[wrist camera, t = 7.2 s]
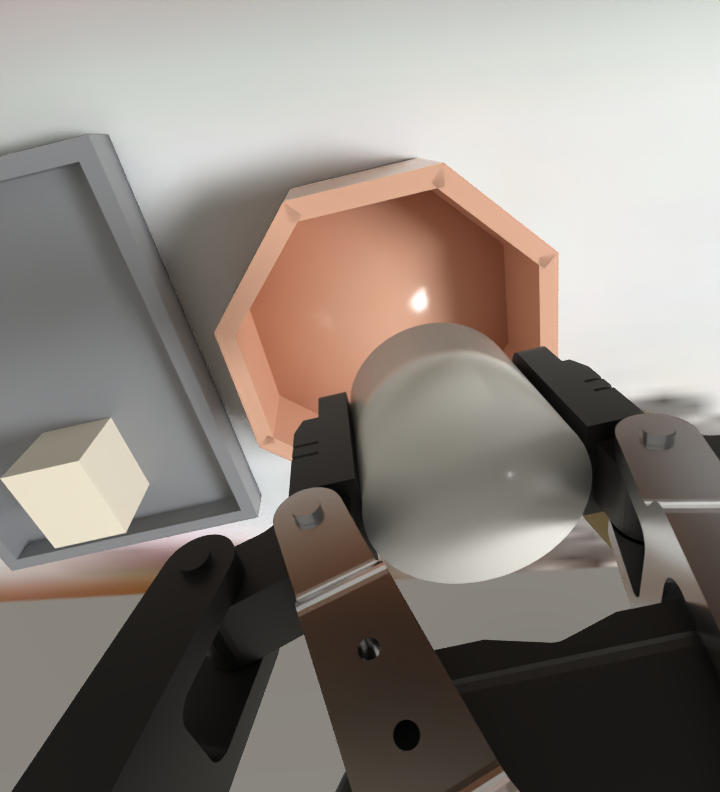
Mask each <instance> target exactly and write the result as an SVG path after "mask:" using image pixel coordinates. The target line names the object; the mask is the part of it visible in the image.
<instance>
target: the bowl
mask: <svg viewBox="0 0 720 792" xmlns="http://www.w3.org/2000/svg"><path fill="white" fill-rule="evenodd" d="M429 323H454V324H459V325H464V326H467V327H470V328H472V329H475V330H477V331H479V332H481V333H483V334H485V335H486V336H487V337H489V338H490V339H491V340H493V341H494V342H495V343H496V344H497V346H498V347H499V348H500V349H501V350H502V351H503V352H504V353H505V354H506V355H507V357H508V358H509V359H510V360H511V361H512V357H513V354H514V353H516V352H520V351H524V350H529V349H533V348H537V347H542V346H545V347H546V348H548V349H549V350H550V351H551V352H552V353H553V354H554V355H555V356H557V357H558V252H557V251H556V250H554V249H553V248H552V247H551V246H549V245H548V244H547V243H546V242H544V241H543V240H542V239H540V238H539V237H538V236H537V235H535V234H534V233H533V232H531V231H530V230H529V229H528V228H526V227H525V226H524V225H523V224H521V223H520V222H519V221H517V220H516V219H515V218H514V217H512V216H511V215H510V214H508V213H507V212H506V211H505V210H503V209H502V208H501V207H500V206H498V205H497V204H496V203H494V202H493V201H492V200H491V199H489V198H488V197H487V196H485V195H484V194H483V193H482V192H480V191H479V190H478V189H477V188H475V187H474V186H473V185H471V184H470V183H469V182H468V181H466V180H465V179H464V178H463V177H461V176H460V175H459V174H457V173H456V172H455V171H454V170H452V169H451V168H450V167H448V166H447V165H446V164H445V163H441V162H436V161H431V160H426V159H420V158H414V159H410V160H406V161H402V162H398V163H394V164H390V165H385V166H381V167H377V168H373V169H369V170H365V171H361V172H357V173H352V174H348V175H344V176H340V177H336V178H332V179H328V180H323V181H319V182H315V183H311V184H307V185H303V186H299V187H295V188H291V189H290V190H289V192H288V193H287V195H286V197H285V199H284V201H283V203H282V204H281V206H280V208H279V210H278V212H277V214H276V216H275V218H274V220H273V222H272V223H271V225H270V227H269V229H268V231H267V233H266V235H265V237H264V239H263V240H262V242H261V244H260V246H259V248H258V250H257V252H256V254H255V256H254V258H253V259H252V261H251V263H250V265H249V267H248V269H247V271H246V273H245V275H244V276H243V278H242V280H241V282H240V284H239V286H238V288H237V290H236V292H235V294H234V295H233V297H232V299H231V301H230V303H229V305H228V307H227V309H226V311H225V312H224V314H223V316H222V318H221V320H220V322H219V324H218V326H217V328H216V330H215V331H214V335H215V337H216V340H217V342H218V345H219V347H220V350H221V352H222V355H223V357H224V360H225V362H226V365H227V367H228V370H229V372H230V375H231V377H232V380H233V382H234V385H235V387H236V390H237V392H238V395H239V397H240V400H241V402H242V405H243V407H244V410H245V412H246V415H247V417H248V420H249V422H250V425H251V427H252V430H253V432H254V435H255V437H256V440H257V442H258V445H259V446H260V447H261V448H263V449H265V450H267V451H270V452H272V453H274V454H276V455H279V456H281V457H283V458H285V459H288V460H290V461H292V460H293V459H292V452H293V440H294V433H295V432H296V430H297V429H298V427H299V426H300V424H301V423H302V421H304V420H308V419H313V418H317V417H318V399H319V398H320V397H325V396H329V395H333V394H338V393H342V392H346V393H347V396H348V400H349V403H350V393H351V389H352V385H353V381H354V379H355V377H356V374H357V372H358V370H359V369H360V367H361V365H362V364H363V362H364V361H365V360H366V358H367V357H368V356H369V355H370V354H371V353H372V352H373V351H374V350H375V349H376V348H377V347H378V346H379V345H380V344H382V343H383V342H384V341H386V340H387V339H388V338H390V337H392V336H394V335H395V334H397V333H399V332H401V331H404V330H406V329H408V328H412V327H415V326H418V325H423V324H429Z"/></svg>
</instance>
